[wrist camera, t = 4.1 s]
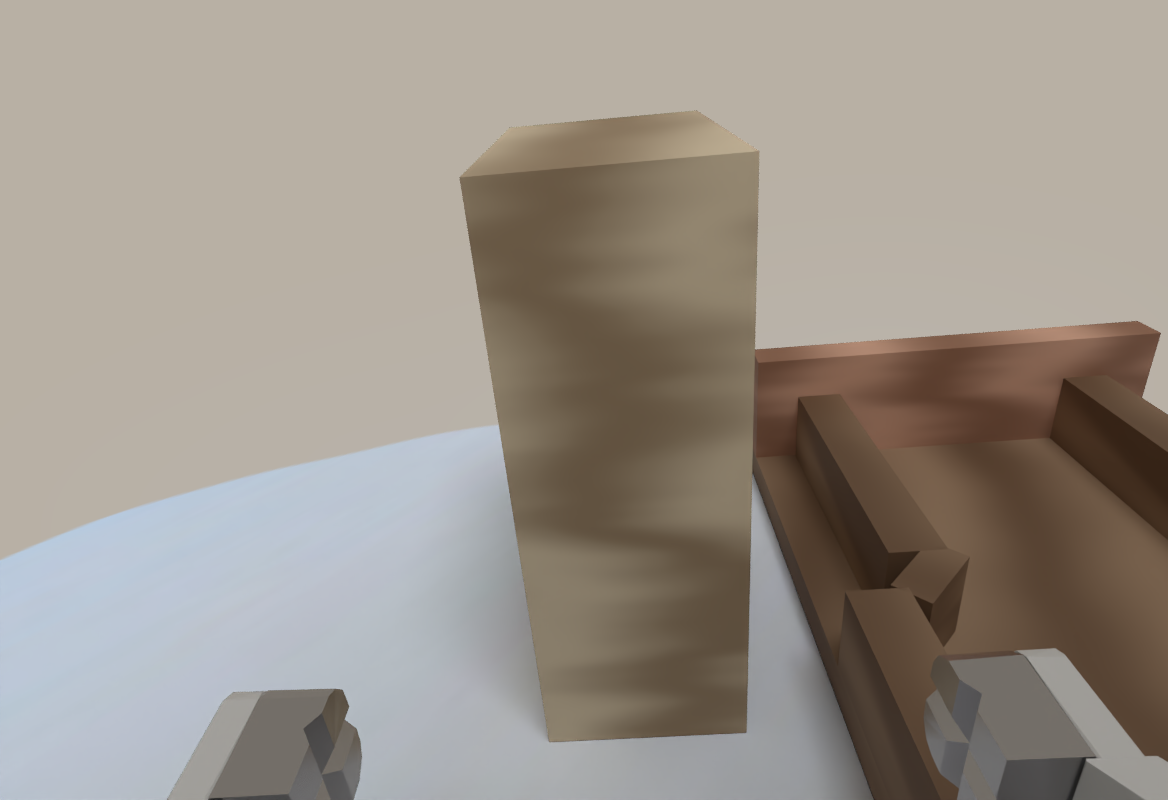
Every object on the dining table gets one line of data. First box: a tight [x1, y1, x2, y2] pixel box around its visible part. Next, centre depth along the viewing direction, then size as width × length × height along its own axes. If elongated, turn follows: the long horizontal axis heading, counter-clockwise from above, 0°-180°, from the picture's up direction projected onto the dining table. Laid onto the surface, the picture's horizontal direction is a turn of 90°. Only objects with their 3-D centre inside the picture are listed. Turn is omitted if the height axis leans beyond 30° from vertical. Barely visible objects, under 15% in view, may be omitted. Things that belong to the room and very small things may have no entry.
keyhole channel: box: [752, 321, 1168, 800], centre depth 18 cm, size 14×21×5 cm, turn 179°
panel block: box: [460, 111, 759, 742], centre depth 19 cm, size 5×8×14 cm, turn 179°
